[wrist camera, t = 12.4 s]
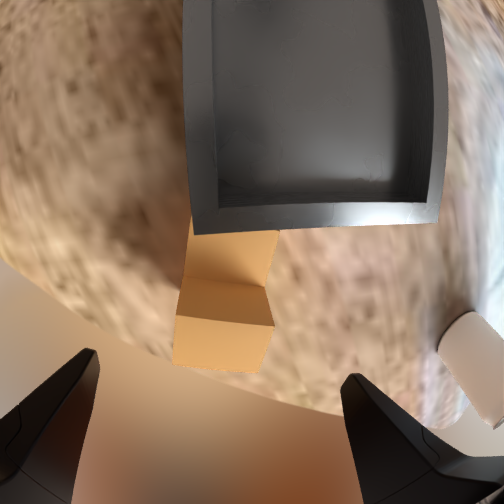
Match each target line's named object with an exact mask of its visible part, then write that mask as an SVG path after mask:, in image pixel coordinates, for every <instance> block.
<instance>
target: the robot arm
mask: <svg viewBox="0 0 504 504" xmlns="http://www.w3.org/2000/svg"><path fill="white" fill-rule="evenodd" d="M99 372H100V364H99V360H98V355H97V352H96V350H93V349H89V348H84V349H83V350H81V351H80V352H79V353H78V354H77V355H75V356H74V357H73V358H72V359H70V360H69V361H68V362H67V363H66V364H65V365H63V366H62V367H61V368H60V369H58V370H57V371H56V372H55V373H54V374H53V375H51V376H50V377H49V378H48V379H47V380H45V381H44V382H43V383H42V384H41V385H40V386H39V387H37V388H36V389H35V390H34V391H33V392H32V393H30V394H29V395H28V396H27V397H26V398H25V399H23V400H22V401H21V402H20V403H19V405H17V406H15V407H14V408H13V409H12V410H11V411H10V412H8V414H6V415H5V416H4V417H3V418H1V419H0V504H71V500H72V495H73V488H74V483H75V479H76V474H77V469H78V464H79V460H80V455H81V451H82V447H83V443H84V439H85V435H86V432H87V428H88V424H89V421H90V417H91V414H92V410H93V404H94V399H95V393H96V388H97V383H98V378H99ZM340 393H341V400H342V407H343V413H344V420H345V426H346V430H347V434H348V438H349V442H350V446H351V450H352V454H353V458H354V462H355V466H356V471H357V475H358V480H359V484H360V488H361V493H362V498H363V502H364V504H504V456H493V457H472V456H467V455H465V454H463V453H461V452H459V451H458V450H457V449H455V448H453V447H452V446H450V445H449V444H447V443H445V442H444V441H443V440H441V439H440V438H438V437H437V436H436V435H434V434H433V433H431V432H430V431H429V430H428V429H427V428H425V427H424V426H423V425H421V424H420V423H419V422H418V421H417V420H416V419H414V418H413V417H412V416H411V415H409V414H408V413H407V412H406V411H405V410H403V409H402V408H401V407H400V406H399V405H397V404H396V403H395V402H394V401H393V400H391V399H390V398H389V397H388V396H387V395H385V394H384V393H383V392H382V391H381V390H379V389H378V388H377V387H376V386H375V385H374V384H372V383H371V382H370V381H369V380H368V379H366V378H365V377H364V376H363V375H362V374H360V373H352V374H350V375H349V376H348V377H347V379H346V380H345V382H344V383H343V385H342V386H341V389H340Z"/></svg>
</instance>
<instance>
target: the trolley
mask: <svg viewBox="0 0 504 504" xmlns="http://www.w3.org/2000/svg"><path fill="white" fill-rule="evenodd" d="M182 61H183V101H184V123H185V140H186V155H187V169H188V181H189V192H190V203H191V213H192V223H193V232H194V235H207V234H221V233H235V232H250V231H266V230H283V229H300V228H319V227H340V226H362V225H387V224H417V223H437V221H438V216H439V210H440V204H441V198H442V191H443V184H444V176H445V166H446V155H447V141H448V78H447V64H446V54H445V45H444V38H443V31H442V25H441V20H440V14H439V9H438V5H437V0H183V29H182Z"/></svg>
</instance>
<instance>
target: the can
mask: <svg viewBox="0 0 504 504" xmlns="http://www.w3.org/2000/svg"><path fill="white" fill-rule="evenodd" d="M438 355H439V357H440V359H441V360H442V361H443V363H444V364H445V366H446V367H447V368H448V370H449V371H450V373H451V374H452V375H453V377H454V378H455V380H456V381H457V383H458V384H459V385H460V387H461V388H462V390H463V391H464V393H465V394H466V396H467V397H468V399H469V400H470V402H471V403H472V405H473V406H474V408H475V409H476V411H477V412H478V414H479V416H480V417H481V419H482V420H483V421H484V422H485V423H487V424H490V425H491V426H493V429H496V428H498V427H499V426H500V425H501V424H503V423H504V340H503V338H502V337H501V336H500V335H499V334H498V333H497V332H496V331H495V330H494V329H493V328H492V327H491V326H490V325H489V323H488V322H487V321H486V320H485V319H484V318H483V317H482V316H481V315H479V314H478V313H477V312H467V313H465V314H463V315H461V316H460V317H459V318H457V319H456V320H455V321H454V322H453V323H452V324H451V325H450V326H449V327H448V329H447V330H446V331H445V333H444V334H443V336H442V338H441V340H440V342H439V345H438Z"/></svg>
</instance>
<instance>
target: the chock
mask: <svg viewBox="0 0 504 504" xmlns="http://www.w3.org/2000/svg"><path fill="white" fill-rule="evenodd" d="M279 234H280V230H266V231H250V232H235V233H221V234H207V235H194V232H193V223H192V215H191V221H190V228H189V234H188V241H187V249H186V256H185V264H184V272H183V279H182V284H181V289H180V294H179V299H178V305H177V310H176V316H175V329H174V343H173V360H172V364H173V365H178V366H186V367H194V368H202V369H211V370H222V371H233V372H247V373H258V371H259V369H260V366H261V363H262V361H263V358H264V355H265V353H266V350H267V347H268V344H269V342H270V339H271V336H272V333H273V331H274V328H275V325H274V321H273V318H272V314H271V310H270V306H269V303H268V299H267V295H266V292H265V288H264V287H265V283H266V280H267V276H268V273H269V269H270V266H271V262H272V259H273V255H274V252H275V248H276V244H277V241H278V237H279Z"/></svg>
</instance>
